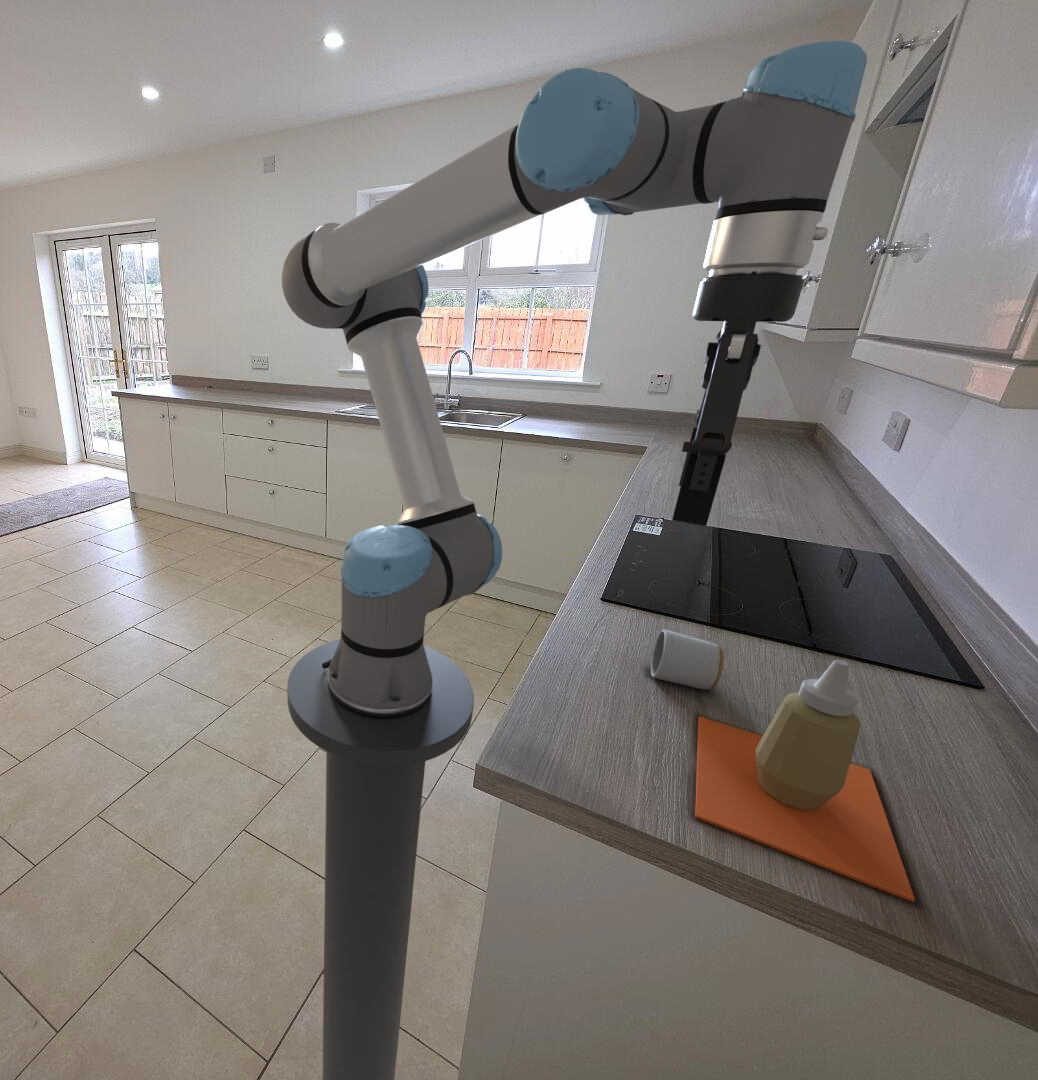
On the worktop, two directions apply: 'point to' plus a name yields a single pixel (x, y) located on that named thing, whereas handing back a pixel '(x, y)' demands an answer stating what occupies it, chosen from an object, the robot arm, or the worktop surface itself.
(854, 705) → the squeeze bottle
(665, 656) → the ceramic mug
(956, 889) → the worktop surface
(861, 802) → the napkin
